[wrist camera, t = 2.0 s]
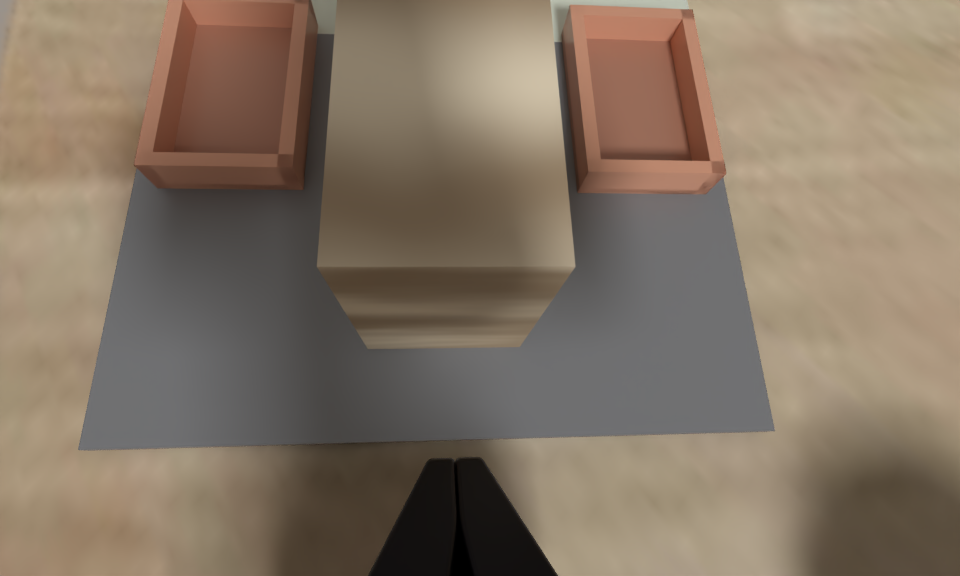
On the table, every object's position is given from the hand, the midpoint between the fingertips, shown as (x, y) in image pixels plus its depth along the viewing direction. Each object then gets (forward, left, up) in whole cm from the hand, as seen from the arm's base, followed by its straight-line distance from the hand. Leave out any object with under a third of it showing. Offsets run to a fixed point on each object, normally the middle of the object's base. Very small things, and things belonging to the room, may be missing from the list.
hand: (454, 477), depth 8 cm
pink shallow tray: (+18, +2, -11) cm, 22 cm away
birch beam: (+10, +7, -11) cm, 17 cm away
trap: (+8, +17, -11) cm, 22 cm away
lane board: (+13, +9, -12) cm, 20 cm away
